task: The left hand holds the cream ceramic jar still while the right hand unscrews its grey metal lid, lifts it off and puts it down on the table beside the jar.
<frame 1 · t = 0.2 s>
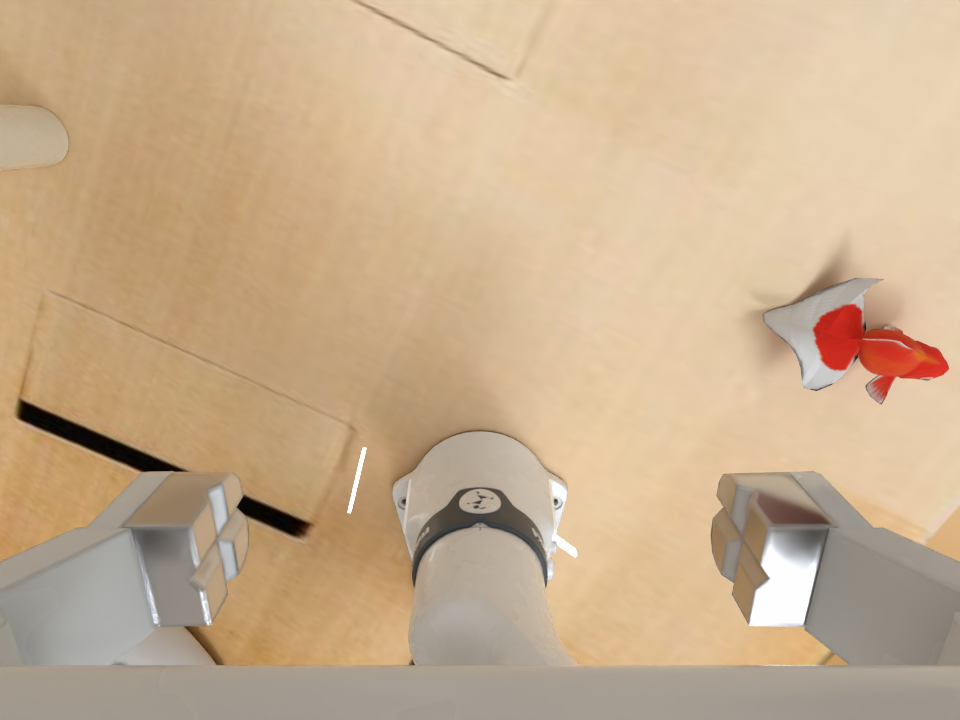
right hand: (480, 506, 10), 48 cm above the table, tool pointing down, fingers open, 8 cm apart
jar: (39, 136, 53), on the table
fish: (827, 330, 60), on the table
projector: (157, 649, 74), on the table
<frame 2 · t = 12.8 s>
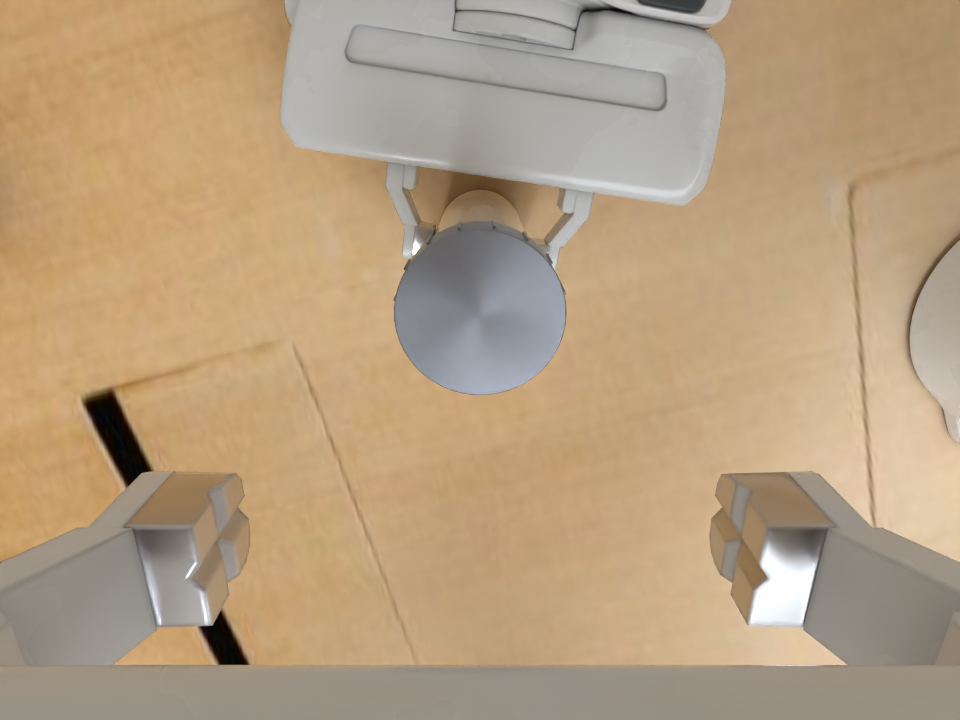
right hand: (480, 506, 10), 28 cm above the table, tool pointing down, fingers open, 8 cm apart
left hand: (478, 267, 32), fingers closed on jar, 5 cm apart
jar: (480, 232, 37), on the table, touching left hand
lid: (480, 313, 21), point 17 cm above the table, screwed on, not yet turned
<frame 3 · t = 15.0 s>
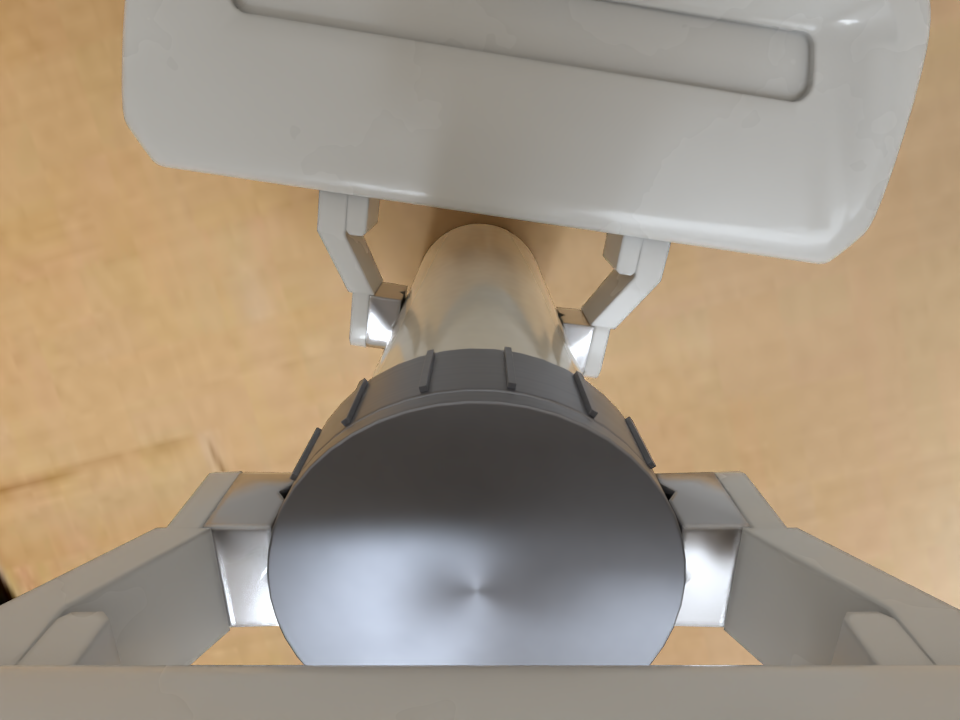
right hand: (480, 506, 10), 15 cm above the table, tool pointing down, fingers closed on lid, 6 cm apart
left hand: (476, 356, 20), fingers closed on jar, 5 cm apart
jar: (479, 285, 25), on the table, touching left hand
lid: (476, 574, 9), point 17 cm above the table, screwed on, not yet turned, touching right hand
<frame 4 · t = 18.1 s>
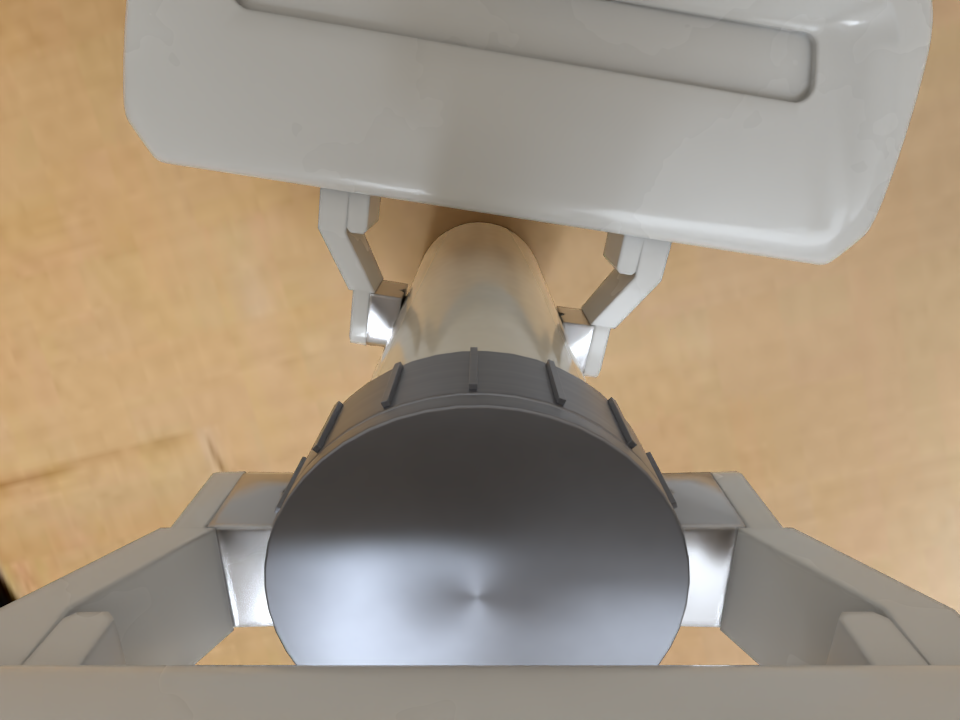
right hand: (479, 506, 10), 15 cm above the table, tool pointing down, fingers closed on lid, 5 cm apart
left hand: (476, 355, 20), fingers closed on jar, 5 cm apart
jar: (479, 284, 25), on the table, touching left hand
lid: (477, 580, 9), point 17 cm above the table, turned 78° so far, risen 0.1 cm, still on its thread, touching right hand
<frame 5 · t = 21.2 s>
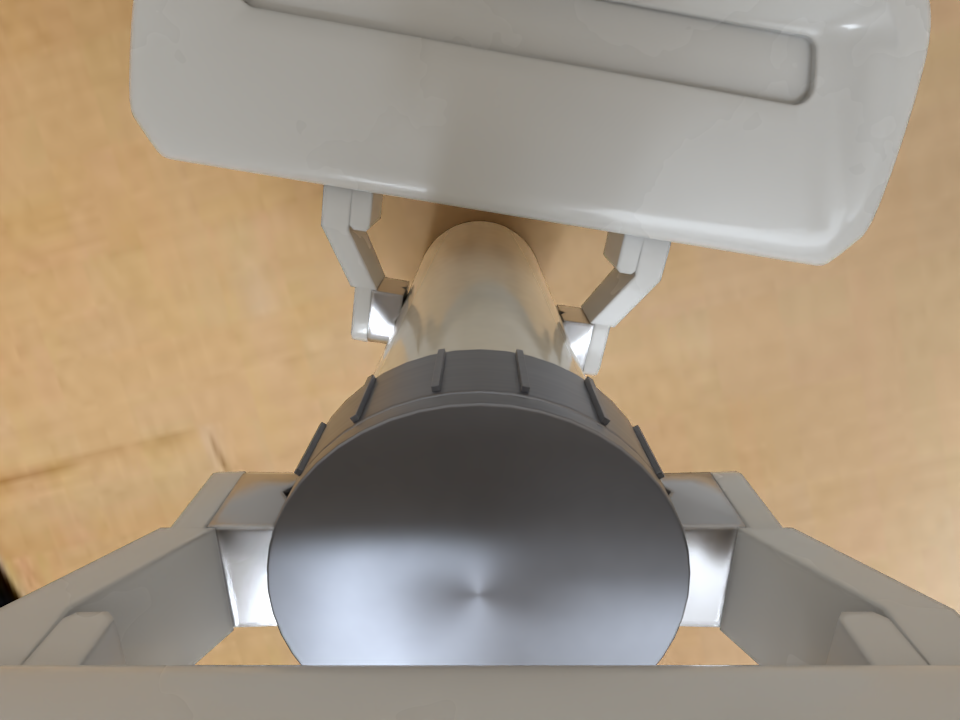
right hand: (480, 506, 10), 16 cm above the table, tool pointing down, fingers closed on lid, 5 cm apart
left hand: (476, 352, 20), fingers closed on jar, 5 cm apart
jar: (479, 282, 25), on the table, touching left hand
lid: (478, 577, 9), point 17 cm above the table, turned 156° so far, risen 0.3 cm, still on its thread, touching right hand
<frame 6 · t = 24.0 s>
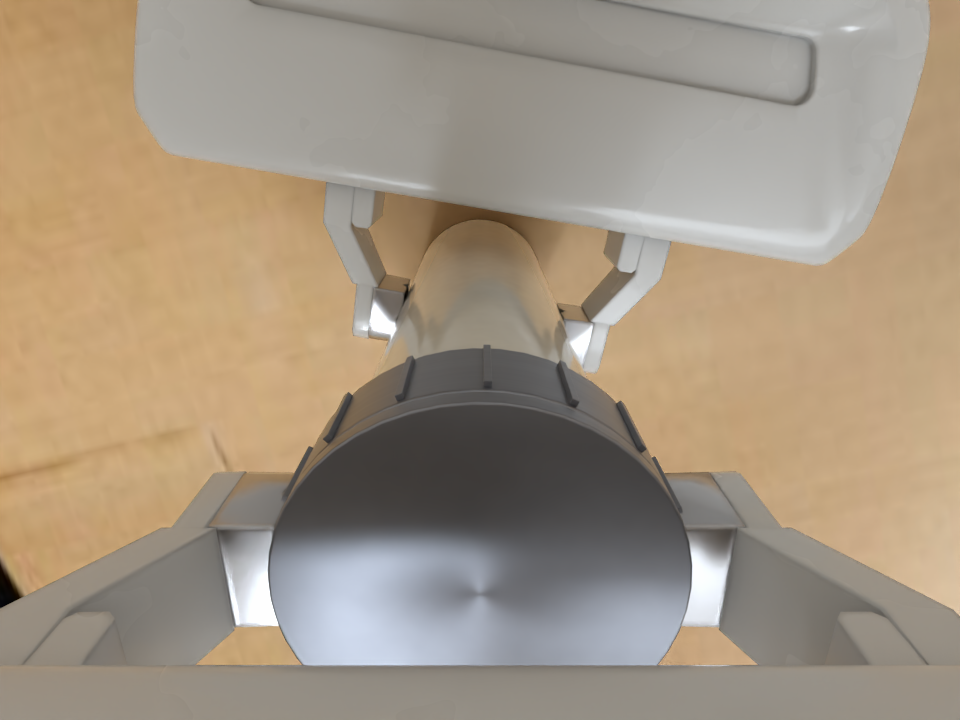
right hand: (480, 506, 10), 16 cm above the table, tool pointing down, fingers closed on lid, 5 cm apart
left hand: (476, 350, 20), fingers closed on jar, 5 cm apart
jar: (479, 280, 25), on the table, touching left hand
lid: (480, 576, 9), point 18 cm above the table, turned 234° so far, risen 0.4 cm, still on its thread, touching right hand
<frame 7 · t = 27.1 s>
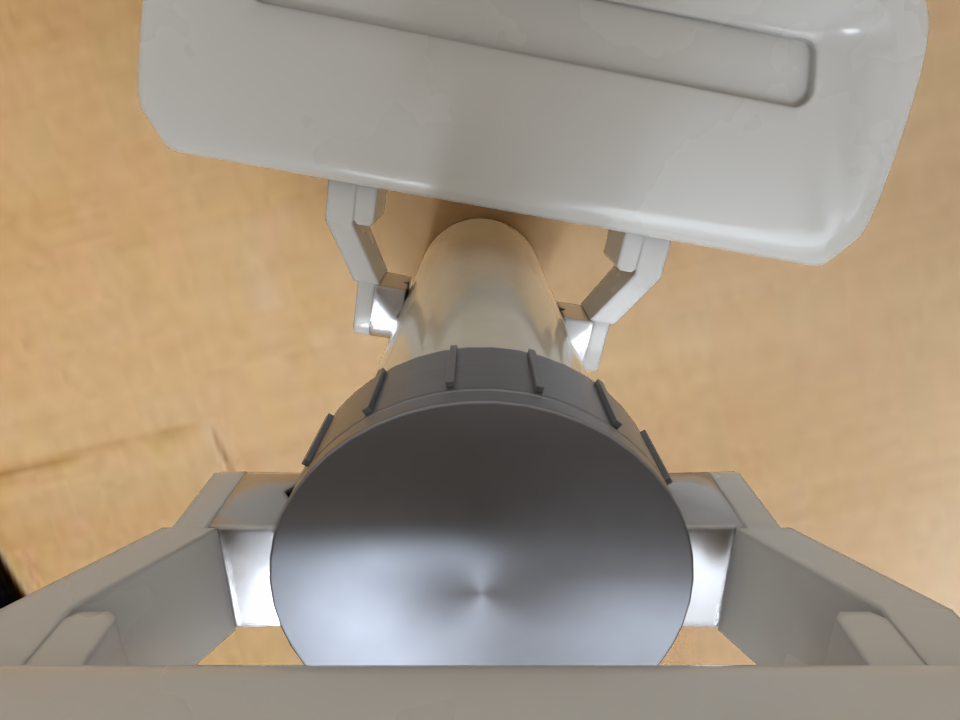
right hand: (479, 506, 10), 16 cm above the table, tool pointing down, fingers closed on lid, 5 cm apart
left hand: (477, 348, 20), fingers closed on jar, 5 cm apart
jar: (480, 279, 25), on the table, touching left hand
lid: (481, 575, 9), point 18 cm above the table, turned 311° so far, risen 0.5 cm, still on its thread, touching right hand
when the right hand's fingers open (2 cm above the table, at t = 37.2 s): lid drops 2 cm, point 2 cm above the table.
when the left hand's fingers open (6 cm above the table, at t = 38.2 s): jar stays where it is, on the table.
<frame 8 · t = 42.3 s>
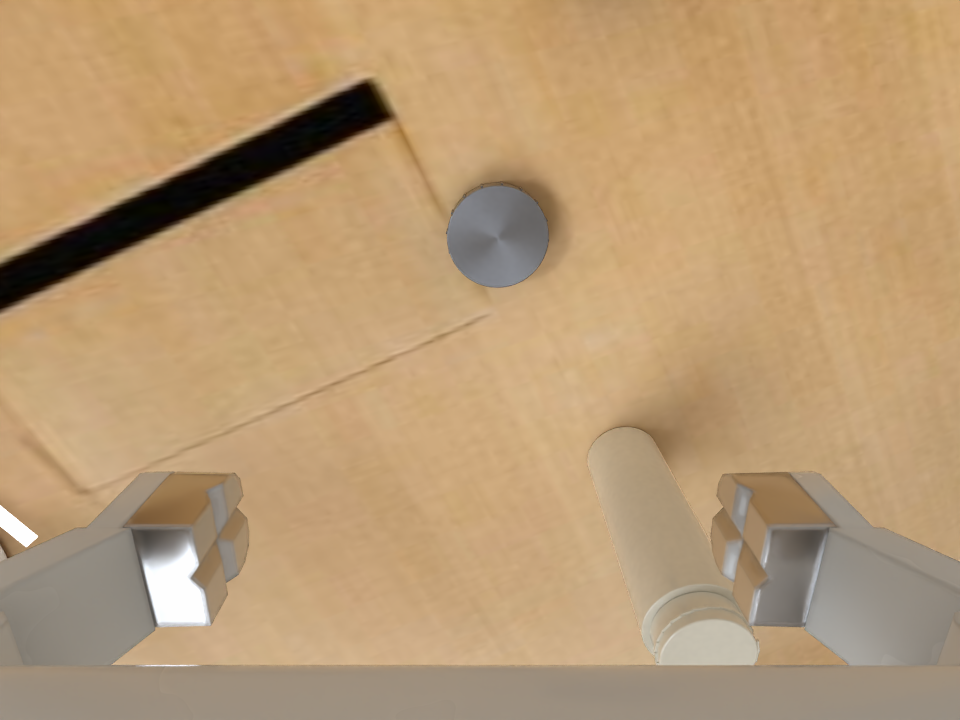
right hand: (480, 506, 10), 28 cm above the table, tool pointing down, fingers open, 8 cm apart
jar: (622, 458, 42), on the table
lid: (497, 237, 35), point 2 cm above the table, off its thread
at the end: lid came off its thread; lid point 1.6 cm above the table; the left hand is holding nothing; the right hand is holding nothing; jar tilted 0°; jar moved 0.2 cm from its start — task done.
